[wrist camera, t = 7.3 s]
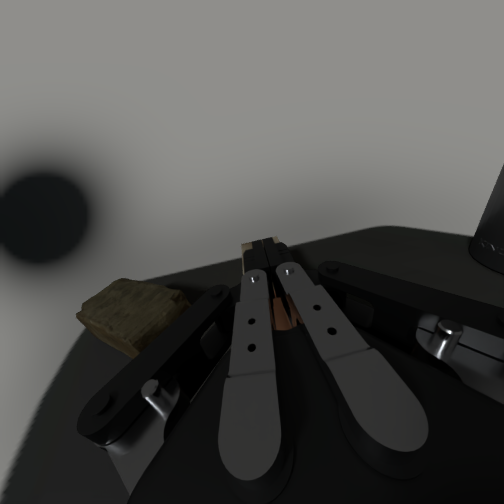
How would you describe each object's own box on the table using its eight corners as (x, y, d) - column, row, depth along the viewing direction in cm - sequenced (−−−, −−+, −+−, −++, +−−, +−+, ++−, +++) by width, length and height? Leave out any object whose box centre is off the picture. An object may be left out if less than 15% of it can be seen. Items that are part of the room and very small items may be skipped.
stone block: (140, 303, 25) (119, 274, 22) (206, 323, 19) (189, 287, 17) (94, 342, 20) (63, 310, 18) (164, 380, 15) (132, 343, 13)
